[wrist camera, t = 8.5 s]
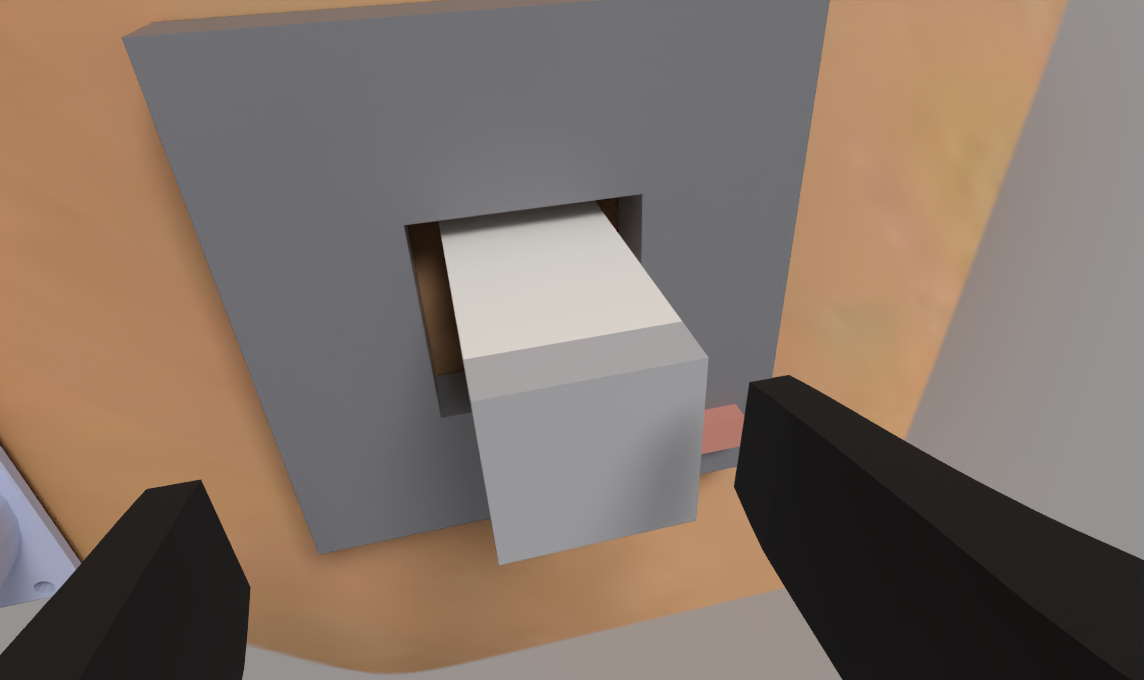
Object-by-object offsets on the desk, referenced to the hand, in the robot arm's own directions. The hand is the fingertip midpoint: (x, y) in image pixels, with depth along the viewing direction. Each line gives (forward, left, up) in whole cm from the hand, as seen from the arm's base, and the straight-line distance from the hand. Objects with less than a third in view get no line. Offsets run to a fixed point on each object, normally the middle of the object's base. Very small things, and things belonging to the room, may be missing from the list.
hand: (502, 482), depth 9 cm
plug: (+2, -2, -10) cm, 10 cm away
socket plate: (+2, -2, -10) cm, 10 cm away
